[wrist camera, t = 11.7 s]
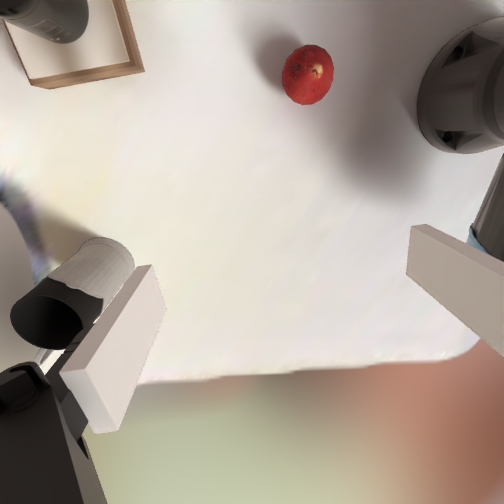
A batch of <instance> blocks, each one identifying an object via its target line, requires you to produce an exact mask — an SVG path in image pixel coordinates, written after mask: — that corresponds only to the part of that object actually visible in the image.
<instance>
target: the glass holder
mask: <svg viewBox="0 0 504 504" xmlns="http://www.w3.org/2000/svg"><path fill="white" fill-rule="evenodd" d="M134 269H135V264H134V260H133V257H132V255H131V254H130V252H129V251H128V250H127V249H126V248H125V247H124V246H123V245H122V244H120V243H119V242H117V241H114V240H112V239H108V238H94V239H90V240H88V241H86V242H85V243H84V244H83V245H82V246H81V247H80V249H79V250H78V252H77V253H76V254H75V255H73V256H72V257H71V258H70V259H68V260H67V261H66V262H64V263H63V264H62V265H61V266H59V267H58V268H57V269H55V270H54V271H53V272H52V273H50V274H49V275H48V276H46V277H45V278H44V279H43V280H42V281H41V282H40V283H39V284H38V285H37V286H36V287H35V288H34V289H32V290H31V291H30V292H29V293H27V294H26V295H25V296H24V297H22V298H21V299H20V300H18V301H17V302H16V304H14V306H13V307H12V309H11V313H10V318H11V323H12V326H13V327H14V329H15V331H16V332H17V333H18V334H19V335H20V336H21V337H22V338H23V339H24V340H26V341H27V342H29V343H31V344H32V345H35V346H37V347H40V350H39V351H38V353H37V354H36V356H35V358H34V361H33V362H36V363H37V364H38V365H39V366H40V365H41V364H43V363H44V361H45V360H46V359H47V358H48V357H49V355H50V354H51V353H52V352H53V350H63V349H66V348H67V347H68V345H70V343H71V342H72V340H73V339H74V338H75V337H76V335H77V334H78V333H79V332H80V331H82V330H83V329H84V328H85V327H87V326H88V325H89V324H93V322H94V321H95V320H96V319H97V318H98V317H99V316H100V315H101V314H102V312H103V311H104V310H105V308H106V307H107V305H108V304H109V303H110V301H111V300H112V299H113V297H114V296H115V294H116V293H117V292H118V290H119V289H120V287H121V286H122V285H123V284H125V283H126V281H127V280H128V279H129V277H130V276H131V275H132V273H133V272H134Z"/></svg>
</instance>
